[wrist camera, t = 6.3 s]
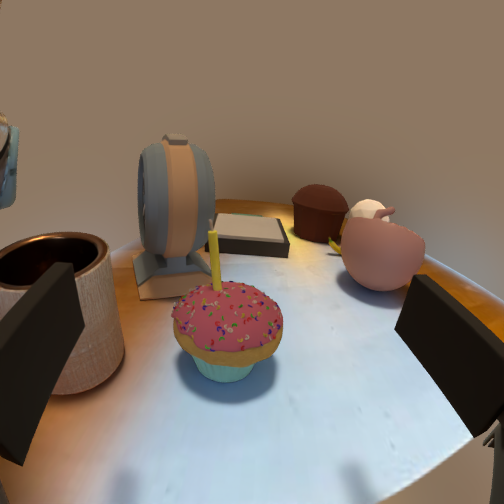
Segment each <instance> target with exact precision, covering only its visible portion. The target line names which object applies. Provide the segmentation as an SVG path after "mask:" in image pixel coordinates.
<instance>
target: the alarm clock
mask: <svg viewBox="0 0 504 504" xmlns="http://www.w3.org/2000/svg"><path fill="white" fill-rule="evenodd" d="M187 141H188V140H187V138H186V137H185V136H184V135H183V134H166V135H165V136H163V138H162V142H161V143H157V144H152V145H150V146H148V147H147V148H145V149H144V150H143V151H142V153H141V155H140V160H139V169H138V216H139V229H140V236H141V242H142V245H143V247H144V248H145V251H143V252H140V253H138V254H135V255H133V256H132V260H133V265H134V271H135V276H136V281H137V286H138V291H139V296H140V300H150V299H158V298H167V297H175V296H183V295H184V294H186V293H189V289H190V288H192V289H194V288H195V287H196V286H200V285H201V286H202V285H206V284H208V283H212V273H211V270H210V268H209V267H208V265H207V264H206V263H205V261H204V260H203V259H202V257H201V256H200V254H198V253H197V252H195V251H197V250H198V249H200V248H201V247H202V246H203V245H204V244H205V243H206V242H207V241H208V231H211V229H210V223H209V219H211V220H212V224H213V221H214V213H215V182H214V176H213V170H212V167H211V163H210V161H209V158H208V156H207V154H206V152H205V151H204V150H202V149H201V148H199V147H198V146H196V145H195V144H189V143H188V142H187ZM192 289H191V290H192ZM191 290H190V291H191Z"/></svg>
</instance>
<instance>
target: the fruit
mask: <svg viewBox="0 0 504 504" xmlns="http://www.w3.org/2000/svg"><path fill="white" fill-rule="evenodd" d="M328 239H329V245H330V246H331V247H332V248H333V249H334V250H335V251H336V252H337V253H339V254H341V248H340V247H338V246H337V245H336V243H335V242H333V241H331V238H329V237H328Z"/></svg>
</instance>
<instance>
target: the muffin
mask: <svg viewBox="0 0 504 504" xmlns="http://www.w3.org/2000/svg"><path fill="white" fill-rule="evenodd" d="M292 202H293V204H294V233H295V234H296V235H298V236H299V237H300V238H303V239H307V240H310V241H313V242H323V243H329V239H328V237H329V238H331V241H336V240H337V237H338V234H339V231H340V229H341V226H342V223H343V220H344V217H345V214H346V213H347V212H348V211H349V208H348V205H347V202H346V201H345V199H344V197H343V196H342V195H341V194H340V193H339V192H338V191H337V190H335V189H334V188H332V187H329V186H325V185H318V184H314V185H308V186H306V187H303V188H301V189H300V190H299V191H298V192H297V193H296V194H295V195H294V197H293V198H292Z"/></svg>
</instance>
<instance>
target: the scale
mask: <svg viewBox="0 0 504 504" xmlns="http://www.w3.org/2000/svg"><path fill="white" fill-rule="evenodd" d="M213 230H216V231H217V235H218V248H219V252H220V253H233V254H246V255H259V256H272V257H285V258H288V253H289V246H290V243H289V241H288V238H287V236H286V233H285V231H284V228H283V226H282V223H281V221H280V219H276V218H269V217H263V216H261V215H249V214H237V213H232V214H215V213H214V221H213ZM205 251H207V252H210V251H209V240H208V241H207V242H206V243H205Z"/></svg>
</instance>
